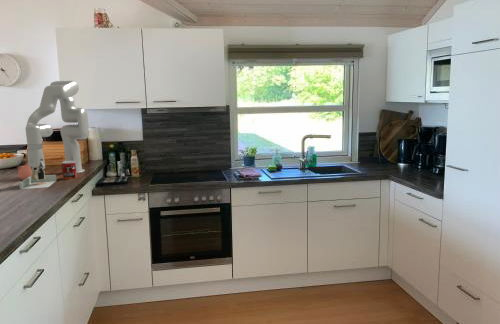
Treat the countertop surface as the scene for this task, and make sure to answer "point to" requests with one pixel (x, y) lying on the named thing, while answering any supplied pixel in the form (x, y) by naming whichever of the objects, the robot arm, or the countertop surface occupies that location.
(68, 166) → the canned food
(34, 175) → the cube
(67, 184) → the countertop surface
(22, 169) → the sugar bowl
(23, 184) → the arena
